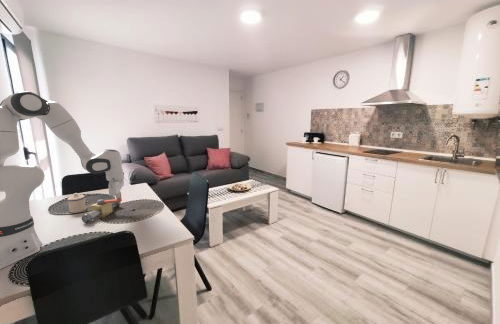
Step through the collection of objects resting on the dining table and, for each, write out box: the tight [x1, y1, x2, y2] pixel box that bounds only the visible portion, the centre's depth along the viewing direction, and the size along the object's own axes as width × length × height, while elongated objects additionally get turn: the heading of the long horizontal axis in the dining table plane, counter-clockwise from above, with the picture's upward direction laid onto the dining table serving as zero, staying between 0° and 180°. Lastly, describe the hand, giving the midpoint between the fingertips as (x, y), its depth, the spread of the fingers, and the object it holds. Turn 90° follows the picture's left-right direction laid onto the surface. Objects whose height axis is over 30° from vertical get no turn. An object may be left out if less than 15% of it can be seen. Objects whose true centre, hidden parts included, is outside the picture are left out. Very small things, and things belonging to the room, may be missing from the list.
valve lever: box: [96, 191, 123, 204], centre depth 133 cm, size 13×4×6 cm, turn 107°
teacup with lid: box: [66, 192, 87, 214], centre depth 140 cm, size 12×9×12 cm
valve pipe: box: [81, 201, 122, 224], centre depth 134 cm, size 24×7×8 cm, turn 173°
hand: (118, 197), depth 132 cm, fingers closed
